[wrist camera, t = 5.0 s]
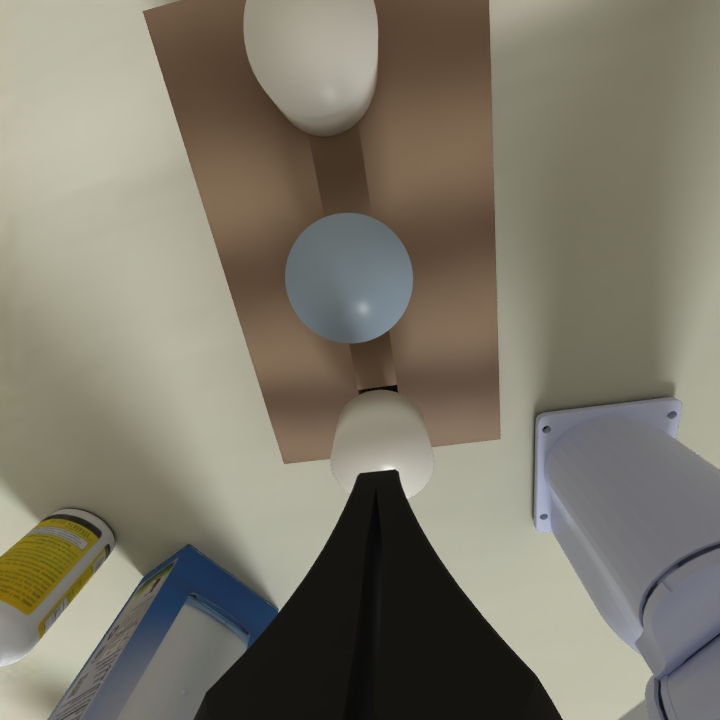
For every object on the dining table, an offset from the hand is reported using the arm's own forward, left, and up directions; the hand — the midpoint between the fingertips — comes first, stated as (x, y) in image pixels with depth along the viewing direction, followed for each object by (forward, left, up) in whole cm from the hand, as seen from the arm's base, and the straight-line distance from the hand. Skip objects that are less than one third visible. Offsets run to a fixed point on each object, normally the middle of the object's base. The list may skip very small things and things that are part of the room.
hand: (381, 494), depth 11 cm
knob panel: (+7, 0, -9) cm, 12 cm away
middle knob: (+7, 0, -6) cm, 9 cm away
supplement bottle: (-10, +25, -10) cm, 28 cm away
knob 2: (0, 0, -6) cm, 6 cm away
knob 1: (+14, 0, -8) cm, 16 cm away
